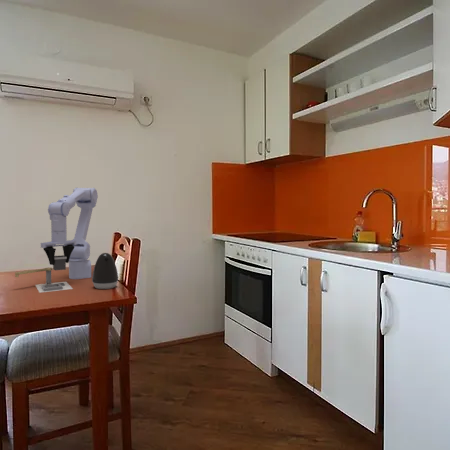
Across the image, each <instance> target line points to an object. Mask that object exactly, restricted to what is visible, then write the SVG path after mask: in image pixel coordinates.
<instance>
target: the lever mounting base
mask: <svg viewBox="0 0 450 450" xmlns="http://www.w3.org/2000/svg"><path fill="white" fill-rule="evenodd" d="M57 283H64V284H65V286H62V285H61V284H57ZM35 287H36V289H37V291H38V293H39V294H40V293H48V292H57V291H66V290H73V289H74V288H73V287H72V286H71V285H70V284H69V282H67V281H60V282H52V270H47V271H45V283H40V284H35Z"/></svg>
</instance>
